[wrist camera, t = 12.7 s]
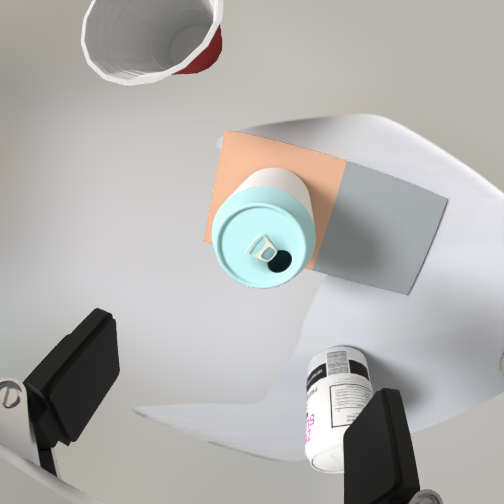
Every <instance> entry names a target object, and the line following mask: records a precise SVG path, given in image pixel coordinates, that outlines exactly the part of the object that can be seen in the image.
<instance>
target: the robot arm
mask: <svg viewBox="0 0 504 504" xmlns="http://www.w3.org/2000/svg"><path fill="white" fill-rule="evenodd" d="M500 367H501V371H502V373H503V374H504V354H503V356H502V360H501V365H500ZM119 371H120V367H119V357H118V346H117V332H116V321H115V319H113V317H112V314H111V313H108V312H106V311H104V310H101V309H99V308H96V309H94V310H93V311H92V312H91V313H90V314H89V315H88V316H87V317H86V318H85V319H84V320H83V321H82V322H81V323H80V324H79V325H78V326H77V328H76V329H75V330H74V331H73V332H72V333H71V334H69V335H66V336H65V337H64V338H63V339H62V340H61V341H60V342H59V343H58V344H57V346H55V348H54V349H53V350H52V351H51V352H50V353H49V354H48V355H47V356H46V357H45V358H44V359H43V360H42V361H41V363H40V364H39V365H38V366H37V367H36V368H35V369H34V370H33V371H32V373H31V374H30V375H29V376H28V377H27V378H26V379H25V381H24V382H23V383H22V382H20V381H19V380H18V379H16V378H12V377H4V378H1V379H0V504H105V503H103V502H101V501H99V500H97V499H95V498H93V497H91V496H89V495H87V494H86V493H84V492H82V491H80V490H78V489H76V488H74V487H73V486H71V485H69V484H67V483H66V482H64V481H62V480H61V476H60V472H59V468H58V464H57V459H56V455H55V450H54V447H55V445H56V444H57V442H58V441H60V442H62V443H64V444H65V445H67V446H69V444H70V442H71V441H72V442H75V441H76V440H77V439H78V437H79V436H80V434H81V433H82V431H83V430H84V428H85V426H86V425H87V423H88V422H89V420H90V419H91V417H92V416H93V414H94V412H95V411H96V409H97V408H98V406H99V405H100V403H101V402H102V400H103V398H104V397H105V395H106V394H107V392H108V391H109V389H110V388H111V386H112V385H113V383H114V382H115V380H116V379H117V377H118V375H119ZM343 454H344V504H443V501H442V499H441V497H440V495H439V494H437V493H436V492H435V491H433V490H428V489H424V490H421V491H420V485H419V478H418V473H417V467H416V461H415V456H414V451H413V446H412V441H411V436H410V432H409V428H408V424H407V419H406V415H405V411H404V407H403V403H402V399H401V395H400V392H399V390H396V389H388V388H383V389H381V390H380V391H377V392H376V393H375V394H374V396H373V397H372V398H371V400H370V401H369V402H368V404H367V405H366V406H365V407H364V409H363V410H362V411H361V412H360V414H359V415H358V416H357V417H356V419H355V420H354V421H353V422H352V424H351V425H350V426H349V427H348V428H347V430H346V431H345V433H344V435H343Z"/></svg>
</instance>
